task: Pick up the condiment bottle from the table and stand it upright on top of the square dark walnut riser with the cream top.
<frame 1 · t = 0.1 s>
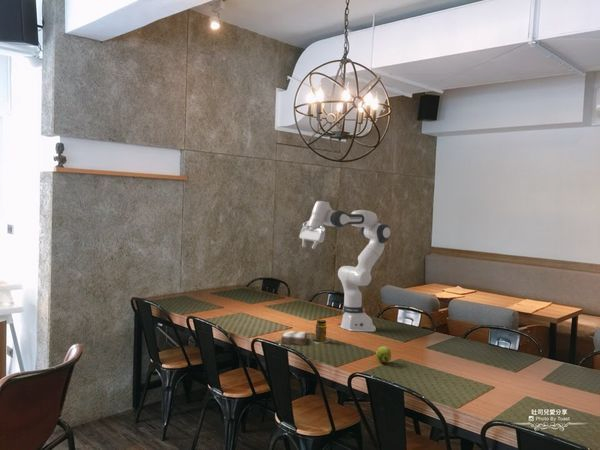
hand: (308, 247, 296), 52 cm above the table, tool tilted 20°, fingers open, 8 cm apart
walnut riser: (294, 340, 284), on the table
condiment: (318, 341, 286), on the table
apple: (383, 362, 253), on the table
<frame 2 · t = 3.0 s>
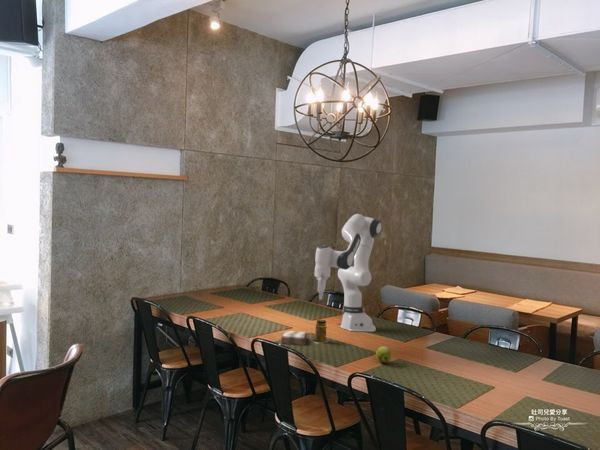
hand: (321, 297, 284), 25 cm above the table, tool pointing down, fingers open, 8 cm apart
nothing on the table moved.
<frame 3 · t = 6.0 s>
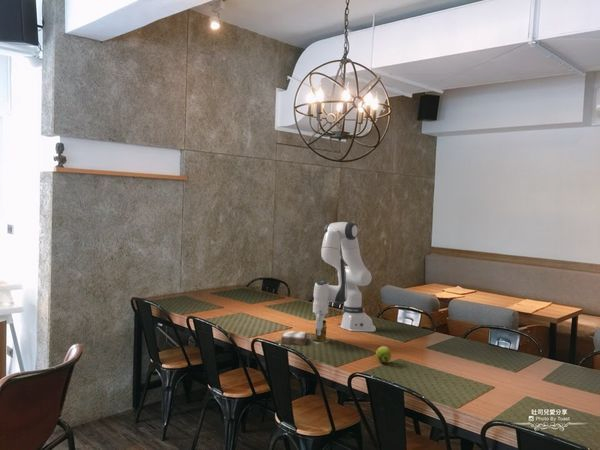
hand: (319, 333, 286), 5 cm above the table, tool pointing down, fingers open, 7 cm apart
condiment: (318, 341, 286), on the table, touching gripper
everything else where it was.
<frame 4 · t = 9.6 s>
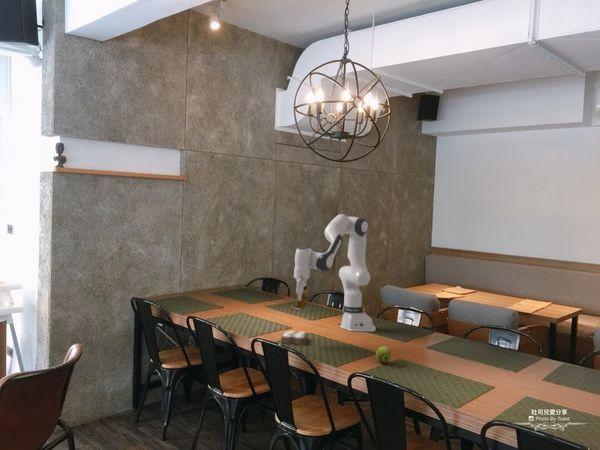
hand: (300, 299, 283), 24 cm above the table, tool pointing down, fingers closed on condiment, 6 cm apart
condiment: (299, 308, 282), point 19 cm above the table, touching gripper
everything else where it was.
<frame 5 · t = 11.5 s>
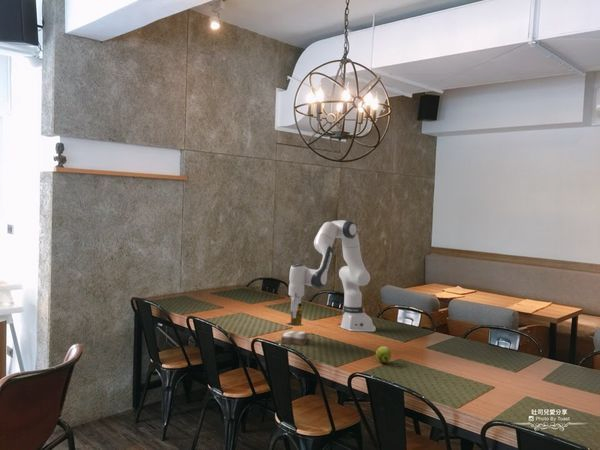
hand: (295, 316, 283), 14 cm above the table, tool pointing down, fingers closed on condiment, 6 cm apart
condiment: (294, 325, 283), point 9 cm above the table, touching gripper
everything else where it was.
when the fingers open (10 cm above the table, at t = 13.2 s): condiment drops 2 cm, resting on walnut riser.
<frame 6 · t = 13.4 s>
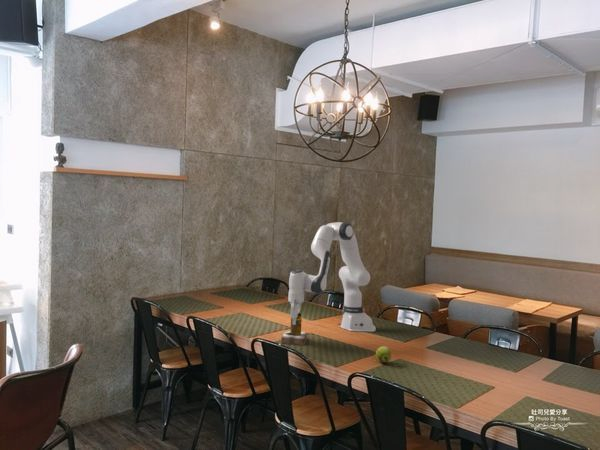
hand: (295, 322, 283), 11 cm above the table, tool pointing down, fingers open, 8 cm apart
condiment: (294, 334, 283), point 4 cm above the table, touching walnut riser
everything else where it was.
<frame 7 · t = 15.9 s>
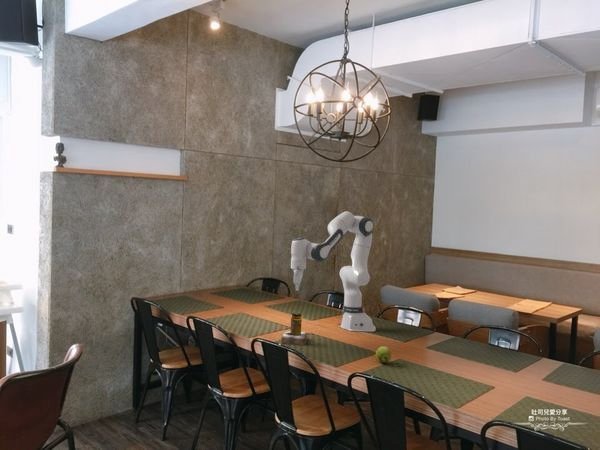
hand: (297, 289, 291), 28 cm above the table, tool pointing down, fingers open, 8 cm apart
nothing on the table moved.
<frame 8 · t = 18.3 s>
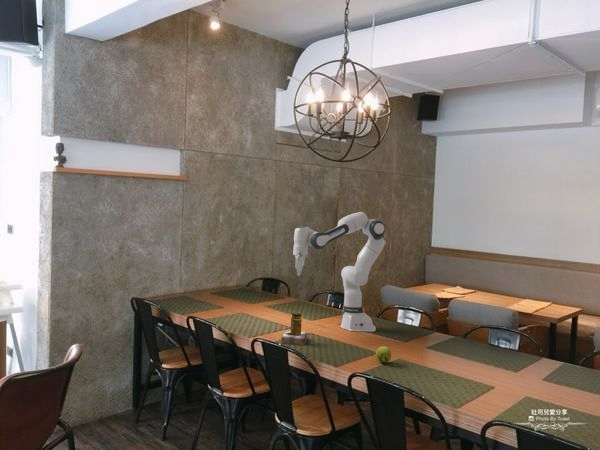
hand: (299, 274, 309), 34 cm above the table, tool pointing down, fingers open, 8 cm apart
nothing on the table moved.
at the end: condiment inside the target area on the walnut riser (1.1 cm from its centre), point 3.8 cm above the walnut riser's base; condiment tilted 0°; the gripper is holding nothing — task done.
